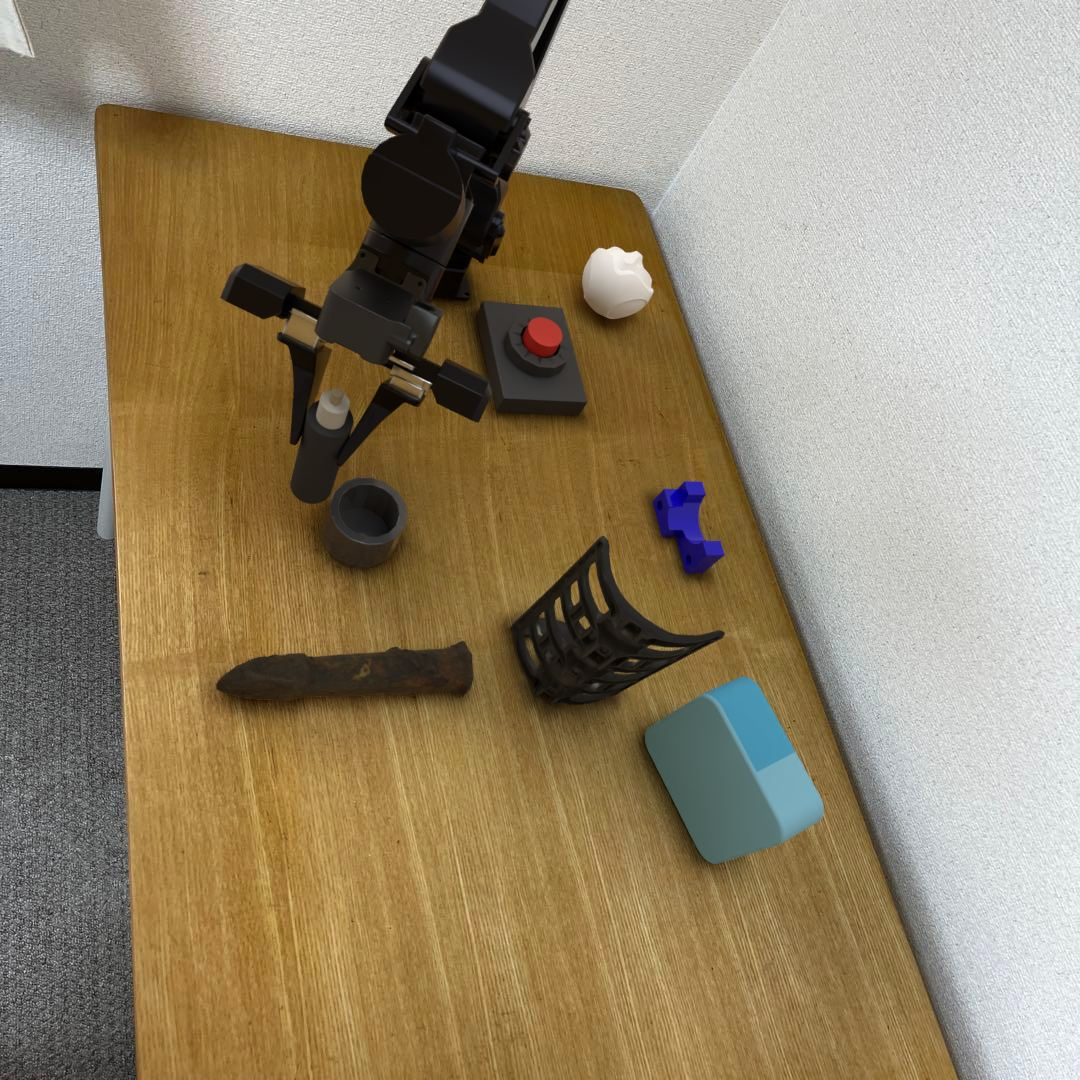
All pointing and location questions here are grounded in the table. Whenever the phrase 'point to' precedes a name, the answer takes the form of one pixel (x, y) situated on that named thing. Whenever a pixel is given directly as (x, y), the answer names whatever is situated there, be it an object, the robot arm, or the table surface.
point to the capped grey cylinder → (321, 447)
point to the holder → (594, 638)
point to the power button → (542, 337)
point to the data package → (733, 772)
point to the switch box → (528, 362)
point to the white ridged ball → (616, 283)
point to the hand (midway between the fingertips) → (316, 454)
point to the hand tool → (351, 674)
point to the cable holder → (687, 526)
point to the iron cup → (363, 522)
